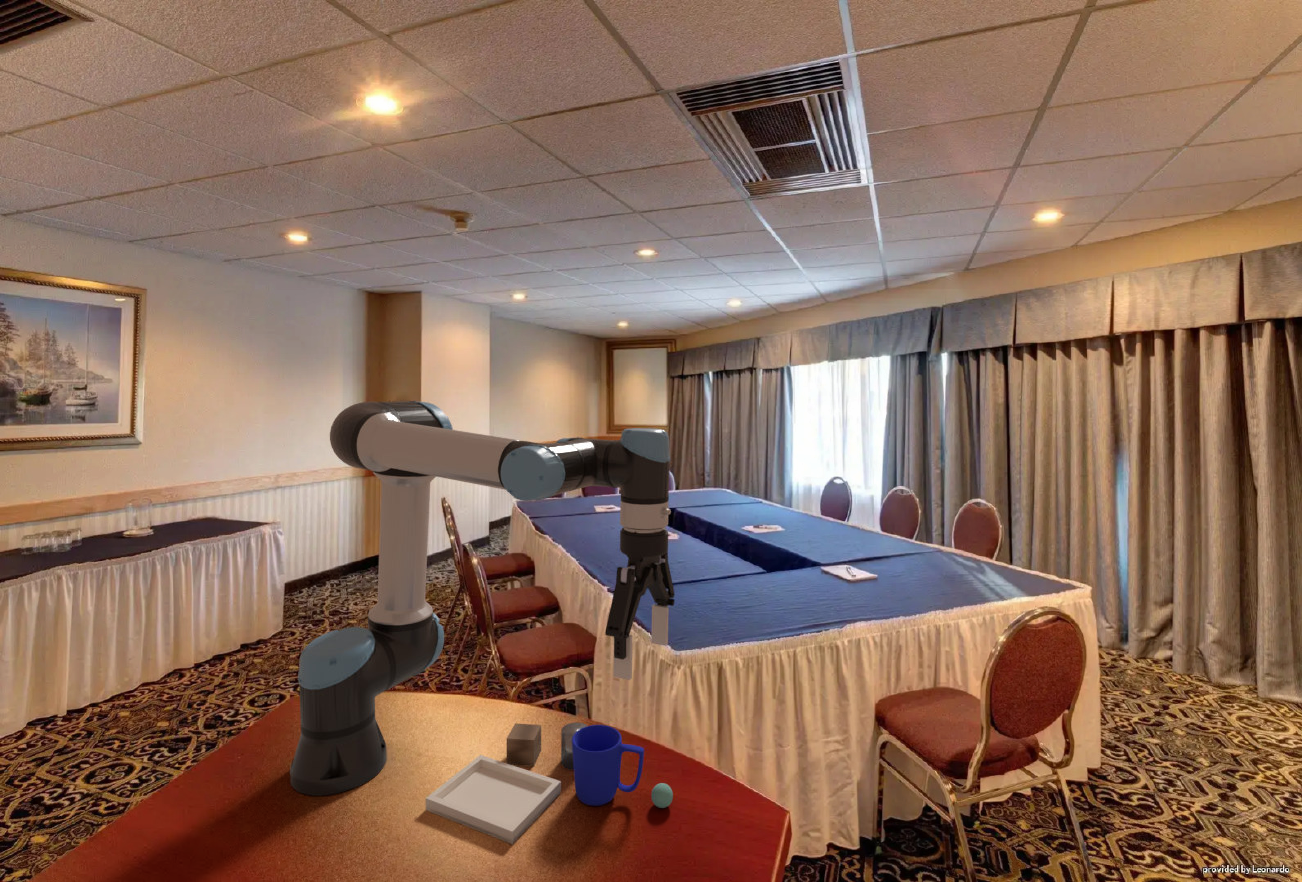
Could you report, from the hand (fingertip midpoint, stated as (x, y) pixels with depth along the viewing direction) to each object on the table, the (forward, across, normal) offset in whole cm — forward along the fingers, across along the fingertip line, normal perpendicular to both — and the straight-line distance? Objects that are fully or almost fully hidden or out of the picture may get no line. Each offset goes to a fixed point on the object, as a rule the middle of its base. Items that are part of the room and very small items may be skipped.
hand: (642, 659), depth 97 cm
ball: (+25, +2, -3) cm, 25 cm away
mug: (+25, 0, +6) cm, 26 cm away
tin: (+25, +6, +16) cm, 30 cm away
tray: (+25, -9, +22) cm, 34 cm away
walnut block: (+25, +3, +25) cm, 35 cm away
